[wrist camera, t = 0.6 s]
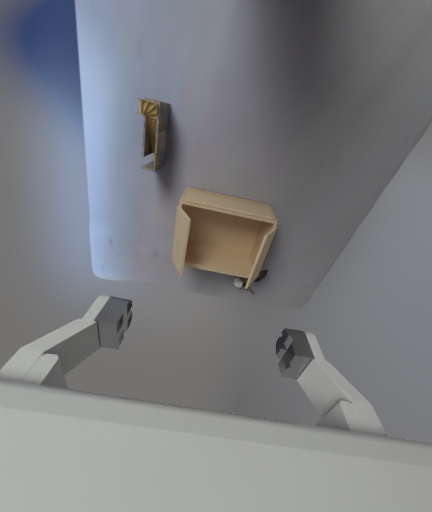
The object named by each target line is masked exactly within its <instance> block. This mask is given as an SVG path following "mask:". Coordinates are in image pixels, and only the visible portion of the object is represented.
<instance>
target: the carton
mask: <svg viewBox="0 0 432 512" xmlns="http://www.w3.org/2000/svg"><path fill="white" fill-rule="evenodd" d="M179 206H180V207H181V208H182V209H183V211H184V212H185V213H186V214H187V216H188V217H189V218H190V219H191V222H190V229H189V235H188V242H187V248H186V255H185V261H184V266H187V267H192V268H197V269H202V270H208V271H213V272H218V273H223V274H228V275H233V276H238V277H243V278H249V276H250V273H251V270H252V268H253V265H254V262H255V260H256V257H257V254H258V252H259V249H260V246H261V244H262V241H263V238H264V236H265V235H266V234H267V233H268V232H269V231H270V230H272V229H273V228H274V227H276V225H277V223H278V221H277V219H276V217H275V214H274V212H273V210H272V208H271V206H270V204H265V203H261V202H256V201H252V200H247V199H243V198H238V197H234V196H229V195H225V194H220V193H216V192H211V191H207V190H202V189H198V188H194V187H189V186H188V187H187V188H186V190H185V192H184V193H183V195H182V197H181V199H180V200H179Z"/></svg>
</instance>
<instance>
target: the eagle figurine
mask: <svg viewBox="0 0 432 512" xmlns="http://www.w3.org/2000/svg"><path fill="white" fill-rule="evenodd" d="M267 273H268V270H264V271H261V272H259V274H258V277H257V278H256V279H255V280H254V281H253V282H258V281H260V280H261V279H263V278H264V277H265V276H266V275H267ZM247 281H248V278H243V277H241V278H235V281H234V285H235V286H236V287H238V288H240V289H241V288H242V287H243V286H246V283H247ZM253 282H252V283H253ZM248 289H249V290H250V291H251V292H252V294H254V292H253V291H252V290H251V288H249V287H248V288H247V289H246V290H248Z"/></svg>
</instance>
